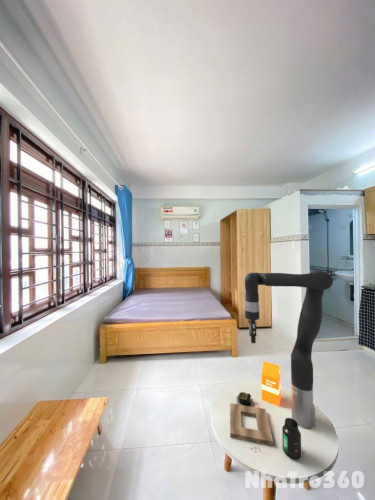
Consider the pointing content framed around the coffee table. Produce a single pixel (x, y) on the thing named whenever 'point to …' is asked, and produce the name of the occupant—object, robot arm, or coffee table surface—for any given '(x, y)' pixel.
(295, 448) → the supplement bottle
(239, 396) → the tape measure
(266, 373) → the orange juice
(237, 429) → the board
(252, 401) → the mat
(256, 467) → the coffee table surface
